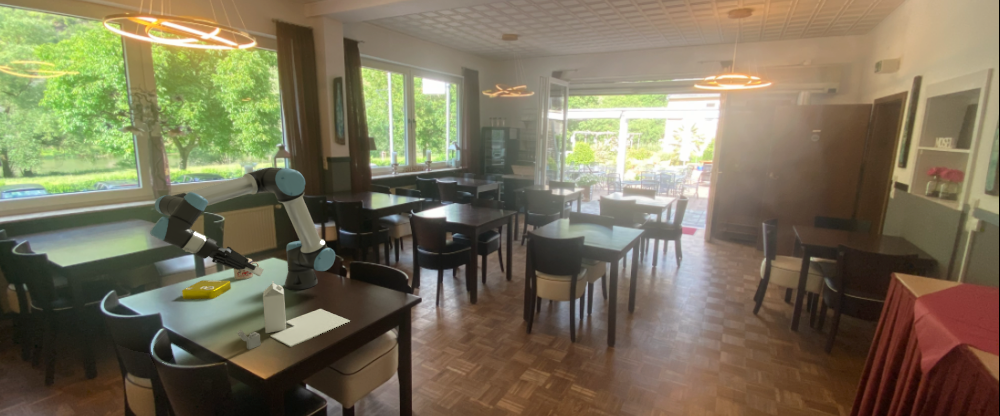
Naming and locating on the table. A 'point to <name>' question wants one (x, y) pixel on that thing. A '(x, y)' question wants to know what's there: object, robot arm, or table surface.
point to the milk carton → (274, 308)
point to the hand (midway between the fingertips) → (261, 272)
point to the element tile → (206, 289)
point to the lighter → (250, 339)
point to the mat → (308, 327)
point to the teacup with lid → (244, 272)
